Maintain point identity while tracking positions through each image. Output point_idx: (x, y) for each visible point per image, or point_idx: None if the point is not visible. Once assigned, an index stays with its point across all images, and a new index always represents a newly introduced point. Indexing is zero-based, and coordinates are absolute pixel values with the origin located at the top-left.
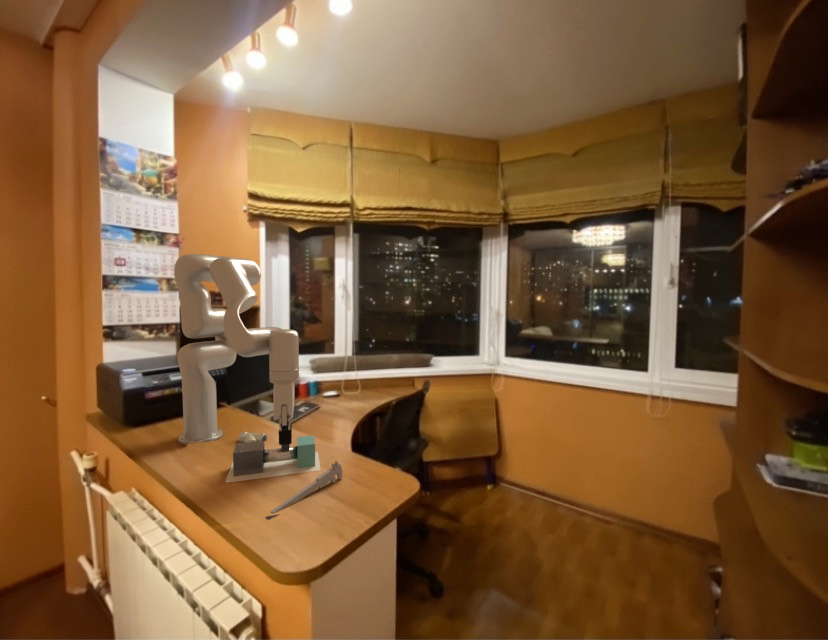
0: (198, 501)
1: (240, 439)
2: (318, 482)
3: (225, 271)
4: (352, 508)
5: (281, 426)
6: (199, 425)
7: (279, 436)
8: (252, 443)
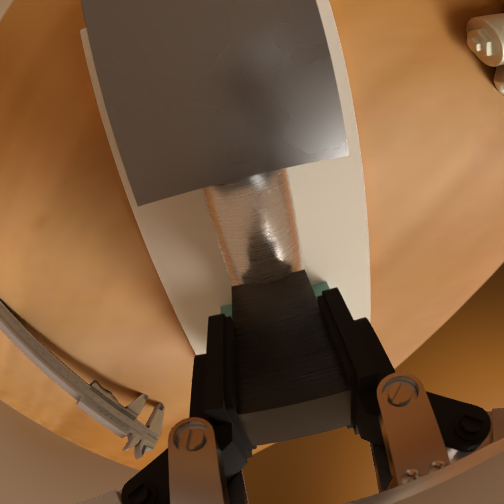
0: (5, 16)
1: None
2: (77, 397)
3: None
4: (66, 415)
5: (124, 488)
6: None
7: (207, 367)
8: (286, 64)
